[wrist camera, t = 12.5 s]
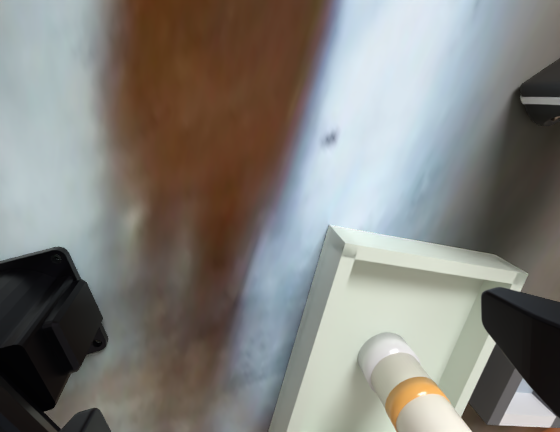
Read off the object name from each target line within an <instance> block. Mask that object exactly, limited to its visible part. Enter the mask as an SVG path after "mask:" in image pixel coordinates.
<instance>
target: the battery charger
mask: <svg viewBox="0 0 560 432" xmlns="http://www.w3.org/2000/svg"><path fill="white" fill-rule="evenodd" d="M520 93H521V96H520V99H521V102H522V104H524V105H525V108H526V111H527V113H528V115H529V116H530V118H531V120H532V121H533V122H534V123H536V124H538V125H542V126H550V125H553V124H555V123H557V122H559V121H560V59H558V60H557V61H555V62H554V63H552V64H551V65H549V66H548V67H546V68H545V69H543V70H542V71H540V72H539V73H537V74H536V75H534V76H533V77H531V78H530V79H529V80H527V81H526V82H524V83H523V84H522V85H521V87H520Z"/></svg>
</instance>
